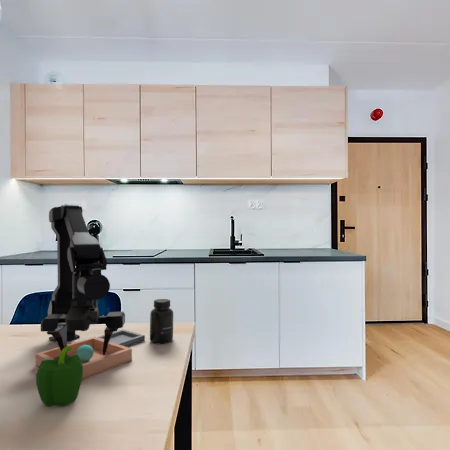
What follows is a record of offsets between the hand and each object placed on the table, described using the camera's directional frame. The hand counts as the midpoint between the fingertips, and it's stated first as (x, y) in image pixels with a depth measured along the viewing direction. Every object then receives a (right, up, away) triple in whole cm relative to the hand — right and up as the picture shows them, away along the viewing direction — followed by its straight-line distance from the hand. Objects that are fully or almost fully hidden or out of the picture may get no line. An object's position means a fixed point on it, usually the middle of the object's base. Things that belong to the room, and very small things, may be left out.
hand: (84, 355), depth 84 cm
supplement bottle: (+16, -2, +17) cm, 23 cm away
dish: (0, -2, 0) cm, 2 cm away
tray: (+4, -2, +16) cm, 16 cm away
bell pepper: (+3, -2, -18) cm, 19 cm away
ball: (0, +1, 0) cm, 1 cm away
